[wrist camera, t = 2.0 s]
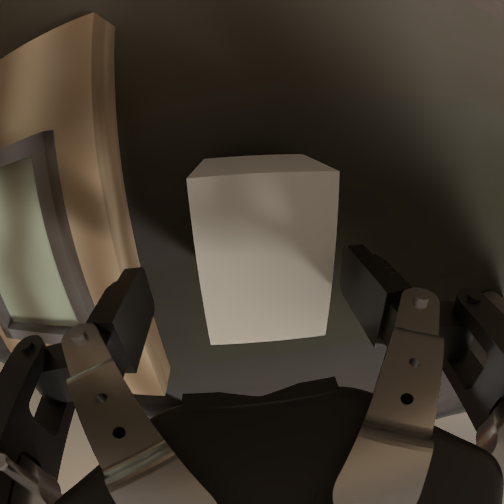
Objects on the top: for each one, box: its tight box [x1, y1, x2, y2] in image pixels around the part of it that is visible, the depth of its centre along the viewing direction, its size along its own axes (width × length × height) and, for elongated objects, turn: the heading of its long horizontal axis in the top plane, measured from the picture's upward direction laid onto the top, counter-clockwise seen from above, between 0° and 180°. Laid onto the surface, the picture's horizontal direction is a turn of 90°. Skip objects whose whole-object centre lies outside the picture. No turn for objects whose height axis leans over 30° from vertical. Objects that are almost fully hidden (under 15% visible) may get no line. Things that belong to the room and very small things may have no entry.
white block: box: [186, 154, 340, 345], centre depth 13 cm, size 5×7×7 cm
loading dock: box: [0, 12, 170, 396], centre depth 14 cm, size 15×25×4 cm, turn 3°
